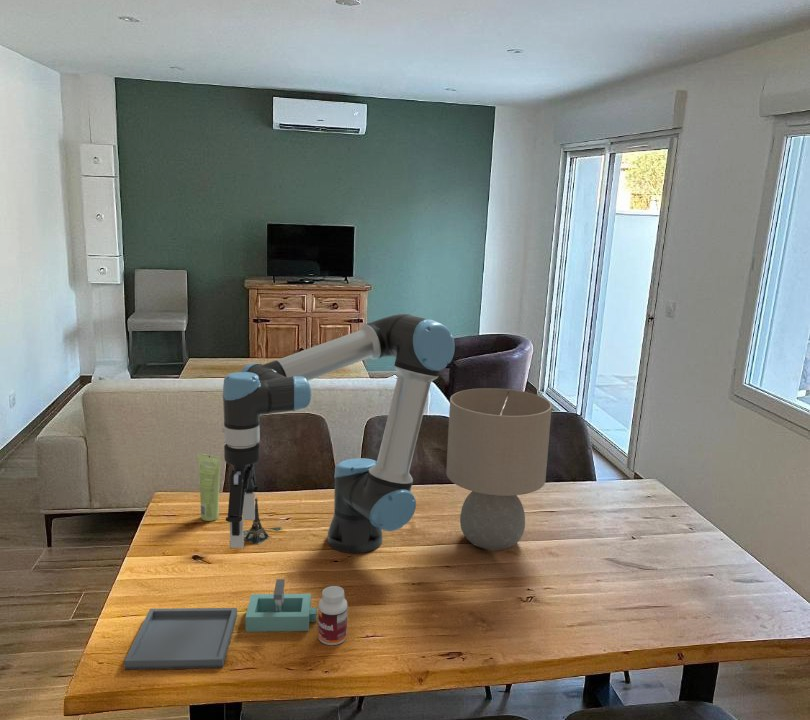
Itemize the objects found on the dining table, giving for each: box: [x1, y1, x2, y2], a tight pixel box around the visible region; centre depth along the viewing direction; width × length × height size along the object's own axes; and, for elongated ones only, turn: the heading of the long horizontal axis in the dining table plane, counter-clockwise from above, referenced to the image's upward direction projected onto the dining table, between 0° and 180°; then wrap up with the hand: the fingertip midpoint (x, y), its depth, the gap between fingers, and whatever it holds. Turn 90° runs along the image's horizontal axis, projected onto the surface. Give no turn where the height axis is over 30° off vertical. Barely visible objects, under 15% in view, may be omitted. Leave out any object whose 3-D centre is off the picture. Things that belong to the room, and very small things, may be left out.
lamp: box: [445, 387, 553, 551], centre depth 190 cm, size 27×27×41 cm
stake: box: [273, 578, 286, 612], centre depth 155 cm, size 4×6×8 cm
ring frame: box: [245, 593, 318, 633], centre depth 155 cm, size 15×9×4 cm, turn 94°
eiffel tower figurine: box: [243, 497, 283, 545], centre depth 191 cm, size 15×10×13 cm
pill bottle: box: [317, 585, 348, 646], centre depth 148 cm, size 6×6×11 cm
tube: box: [197, 452, 222, 522], centre depth 201 cm, size 6×5×20 cm
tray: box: [123, 607, 238, 671], centre depth 146 cm, size 19×18×2 cm
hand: (243, 532), depth 157 cm, fingers open, 13 cm apart
